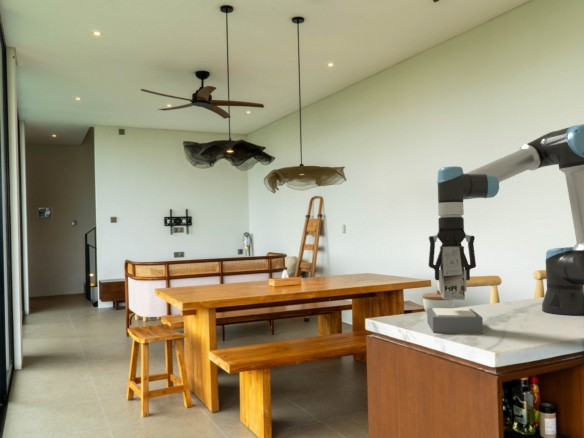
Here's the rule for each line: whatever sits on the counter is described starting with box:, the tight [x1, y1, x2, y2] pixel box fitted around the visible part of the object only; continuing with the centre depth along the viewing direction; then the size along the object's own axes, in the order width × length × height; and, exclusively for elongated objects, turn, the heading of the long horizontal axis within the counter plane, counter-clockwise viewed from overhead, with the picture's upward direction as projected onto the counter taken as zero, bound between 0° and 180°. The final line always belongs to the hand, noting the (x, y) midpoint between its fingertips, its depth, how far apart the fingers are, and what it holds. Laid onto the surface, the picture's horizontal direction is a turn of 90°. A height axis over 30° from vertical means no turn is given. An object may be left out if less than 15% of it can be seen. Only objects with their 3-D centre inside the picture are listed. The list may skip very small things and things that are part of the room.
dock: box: [426, 307, 484, 335], centre depth 152 cm, size 14×16×5 cm
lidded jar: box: [422, 289, 455, 314], centre depth 172 cm, size 11×11×9 cm
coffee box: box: [439, 245, 466, 301], centre depth 153 cm, size 9×6×16 cm
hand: (452, 290), depth 153 cm, fingers closed on coffee box, 6 cm apart
